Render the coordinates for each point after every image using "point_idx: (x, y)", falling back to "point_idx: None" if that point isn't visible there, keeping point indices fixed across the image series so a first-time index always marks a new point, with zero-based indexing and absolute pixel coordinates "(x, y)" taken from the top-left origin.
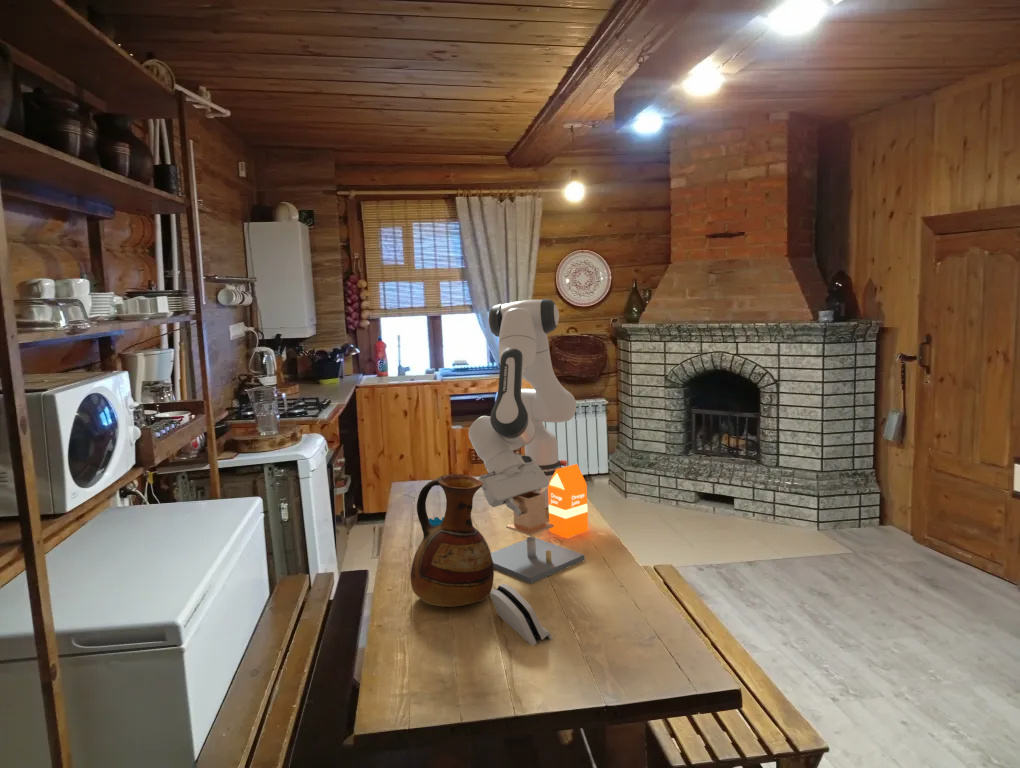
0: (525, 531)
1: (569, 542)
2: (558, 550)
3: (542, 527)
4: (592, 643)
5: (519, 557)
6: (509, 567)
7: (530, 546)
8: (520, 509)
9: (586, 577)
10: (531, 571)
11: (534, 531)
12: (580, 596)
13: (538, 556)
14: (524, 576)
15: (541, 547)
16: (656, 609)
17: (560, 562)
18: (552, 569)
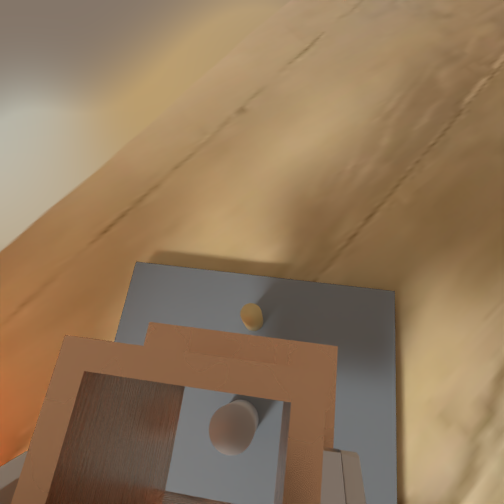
0: (327, 388)
1: (18, 408)
2: None
3: (218, 346)
4: (497, 29)
5: None
6: (383, 420)
7: (253, 414)
8: (336, 471)
9: (248, 196)
10: (352, 322)
11: (296, 342)
12: (352, 147)
13: None
14: (393, 322)
15: None
16: (297, 19)
17: (232, 287)
18: (289, 279)
